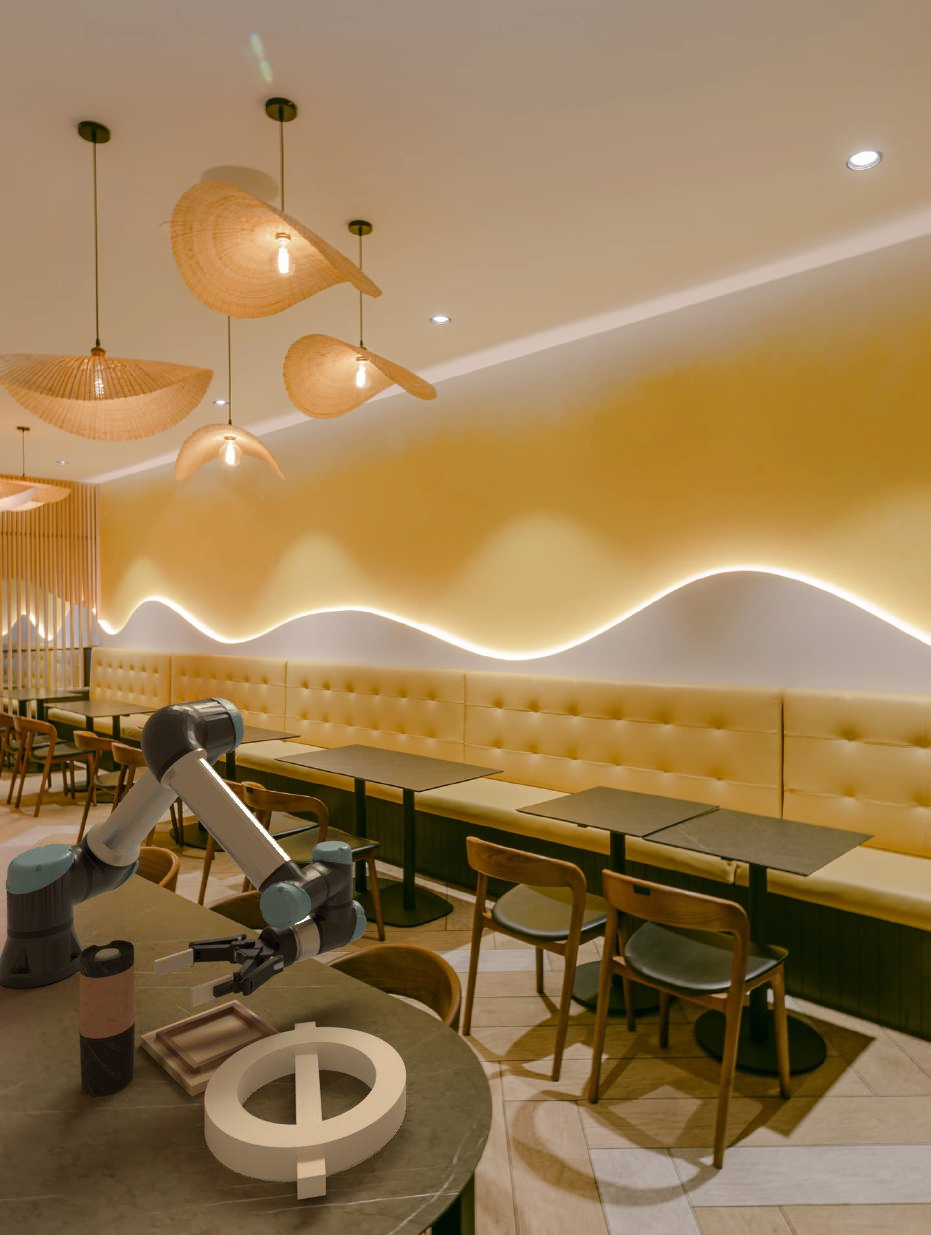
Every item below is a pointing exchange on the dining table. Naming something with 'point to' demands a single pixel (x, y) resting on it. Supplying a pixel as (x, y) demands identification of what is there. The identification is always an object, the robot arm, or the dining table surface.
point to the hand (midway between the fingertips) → (172, 983)
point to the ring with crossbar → (304, 1105)
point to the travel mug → (107, 1017)
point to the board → (204, 1043)
